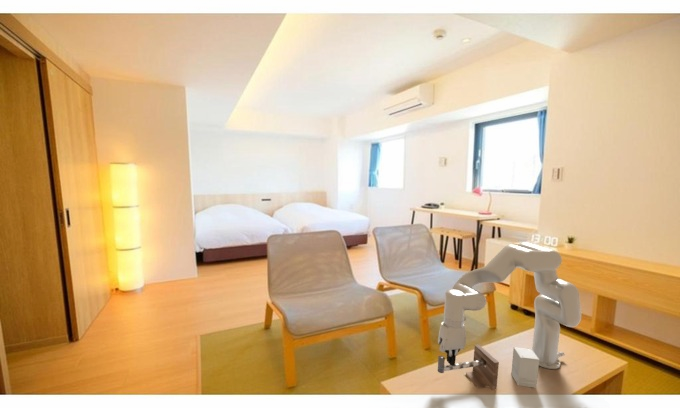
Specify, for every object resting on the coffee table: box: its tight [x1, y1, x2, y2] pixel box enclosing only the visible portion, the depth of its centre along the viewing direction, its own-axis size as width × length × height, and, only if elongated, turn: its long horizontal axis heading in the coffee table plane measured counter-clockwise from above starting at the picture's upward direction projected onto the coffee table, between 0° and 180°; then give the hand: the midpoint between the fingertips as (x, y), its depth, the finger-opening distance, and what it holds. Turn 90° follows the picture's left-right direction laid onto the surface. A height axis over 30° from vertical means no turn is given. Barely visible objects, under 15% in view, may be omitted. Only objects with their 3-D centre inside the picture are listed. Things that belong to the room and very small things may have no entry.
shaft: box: [437, 355, 484, 374], centre depth 120 cm, size 20×2×6 cm, turn 102°
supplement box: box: [510, 346, 540, 388], centre depth 123 cm, size 7×7×13 cm
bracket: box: [465, 344, 500, 391], centre depth 123 cm, size 7×12×12 cm, turn 12°
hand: (450, 363), depth 119 cm, fingers closed
